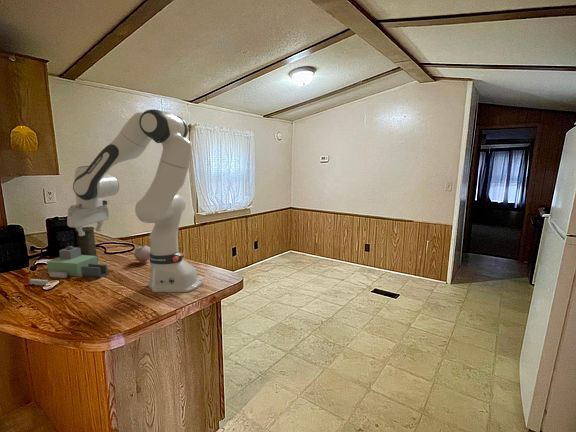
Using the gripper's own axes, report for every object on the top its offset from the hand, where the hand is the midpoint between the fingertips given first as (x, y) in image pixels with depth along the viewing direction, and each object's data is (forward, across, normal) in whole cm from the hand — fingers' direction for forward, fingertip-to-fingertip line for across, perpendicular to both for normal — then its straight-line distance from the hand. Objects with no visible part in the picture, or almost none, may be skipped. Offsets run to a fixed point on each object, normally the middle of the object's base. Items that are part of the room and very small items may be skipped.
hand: (90, 233), depth 140 cm
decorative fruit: (+20, +22, -11) cm, 32 cm away
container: (+21, +17, +18) cm, 33 cm away
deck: (+21, -2, +14) cm, 25 cm away
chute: (+20, 0, -1) cm, 20 cm away
